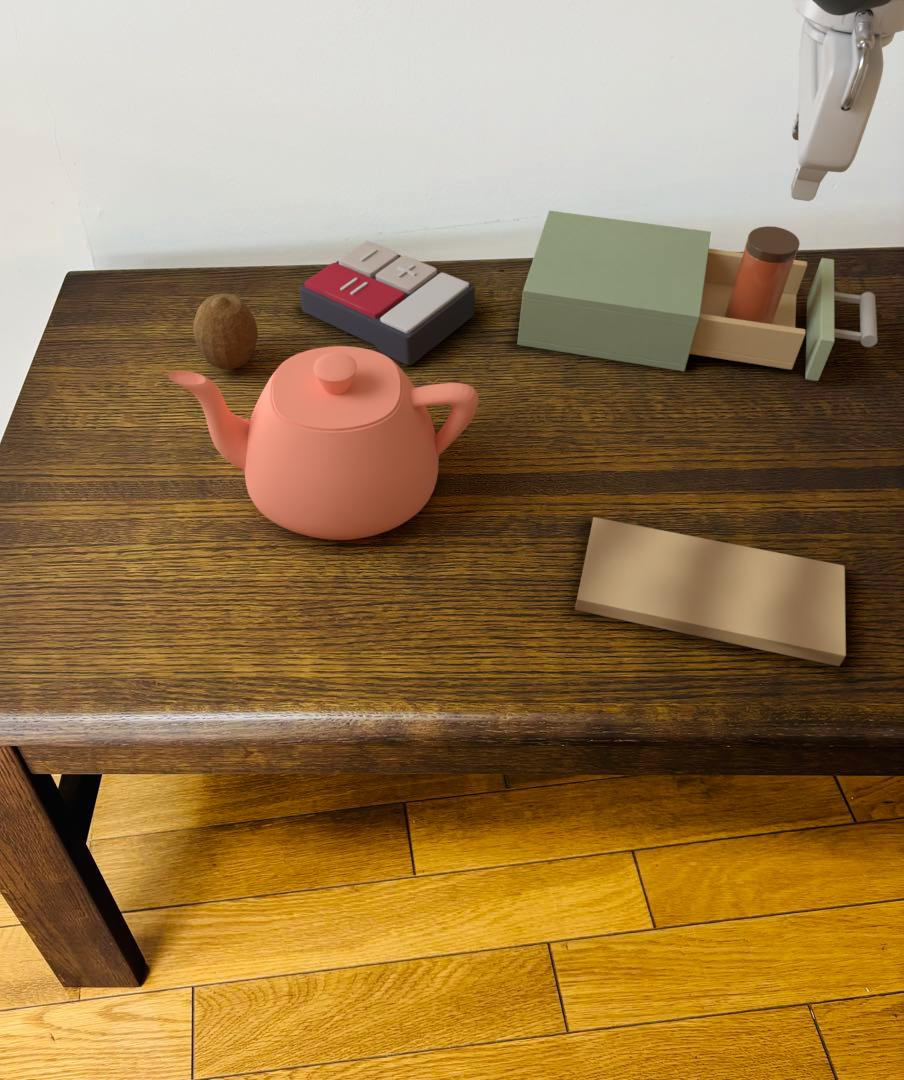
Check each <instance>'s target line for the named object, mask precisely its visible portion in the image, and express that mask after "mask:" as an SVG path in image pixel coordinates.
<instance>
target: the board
mask: <svg viewBox="0 0 904 1080" xmlns="http://www.w3.org/2000/svg"><path fill="white" fill-rule="evenodd" d="M574 606H575V607H574V610H575V611H578V612H583V613H587V614H590V615H591V614H592V615H596V616H601V617H606V618H611V619H614V620H615V619H616V620H619V621H625V622H629V623H634V624H639V625H643V626H647V627H653V628H658V629H663V630H667V631H670V632H671V631H672V632H677V633H681V634H685V635H690V636H694V637H700V638H705V639H708V640H713V641H719V642H723V643H728V644H733V645H738V646H741V647H745V648H746V647H747V648H750V649H756V650H761V651H765V652H770V653H775V654H779V655H784V656H788V657H793V658H797V659H802V660H807V661H811V662H817V663H822V664H825V665H830V666H836V667H841V665H842V663H843V661H844V660H845V658H846V657H847V648H846V647H847V637H846V635H847V634H846V633H847V631H846V628H847V627H846V567H845V565H844V564H839V563H833V562H829V561H828V562H827V561H822V560H817V559H813V558H809V557H808V558H807V557H803V556H802V557H801V556H797V555H792V554H786V553H781V552H777V551H771V550H766V549H762V548H761V549H760V548H756V547H751V546H746V545H740V544H735V543H729V542H724V541H719V540H714V539H709V538H704V537H699V536H693V535H689V534H688V535H687V534H683V533H678V532H673V531H669V530H668V531H667V530H662V529H659V528H653V527H647V526H642V525H636V524H631V523H626V522H621V521H616V520H611V519H607V518H606V519H605V518H601V517H595V516H594V517H593V518H592V522H591V527H590V532H589V536H588V542H587V547H586V551H585V556H584V561H583V566H582V572H581V576H580V581H579V587H578V591H577V596H576V601H575V605H574Z"/></svg>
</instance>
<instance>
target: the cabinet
mask: <svg viewBox="0 0 904 1080" xmlns="http://www.w3.org/2000/svg"><path fill="white" fill-rule="evenodd" d="M711 233H712V231H708V230H702V229H701V230H700V229H695V228H694V229H692V228H684V227H677V226H670V225H669V226H668V225H662V224H656V223H655V224H654V223H646V222H639V221H631V220H623V219H618V218H617V219H616V218H609V217H601V216H593V215H587V214H586V215H585V214H580V213H570V212H564V211H563V212H562V211H557V210H556V211H555V210H548V212H547V216H546V220H545V222H544V224H543V229H542V231H541V235H540V237H539V240H538V243H537V246H536V250H535V253H534V256H533V258H532V262H531V264H530V265H531V266H530V268H529V271H528V274H527V277H526V280H525V283H524V285H523V286H524V287H523V288H522V289H523V290H522V297H521V304H520V305H521V306H520V314H519V315H520V316H519V325H518V333H517V334H518V335H517V343H516V345H517V346H523V347H529V348H534V349H540V350H541V349H542V350H548V351H553V352H559V353H560V352H561V353H565V354H573V355H578V356H579V355H580V356H586V357H589V358H591V357H592V358H596V359H603V360H610V361H615V362H623V363H628V364H634V365H641V366H648V367H653V368H661V369H666V370H671V371H679V372H685V371H686V368H687V365H688V361H689V357H690V354H689V353H690V350H691V346H692V342H693V339H694V335H695V331H696V328H697V324H698V321H699V317H700V310H701V302H702V295H703V287H704V280H705V272H706V265H707V257H708V250H709V249H710V242H711Z"/></svg>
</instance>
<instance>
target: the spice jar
mask: <svg viewBox="0 0 904 1080" xmlns="http://www.w3.org/2000/svg"><path fill="white" fill-rule="evenodd" d="M799 248H800V240H799V238H798V236H797V235H796V234H795V233H794V232H791V231H790V230H788V229H785V228H782V227H778V226H769V225H768V226H759V227H756V228H754V229H753V230H751V231H750V232H749V234H748V235H747V239H746V243H745V245H744V249H743V252H742V253H743V255H742V259H741V262H740V266H739V269H738V272H737V276H736V279H735V282H734V286H733V289H732V292H731V296H730V299H729V302H728V306H727V309H726V312H725V317H726V318H733V319H739V320H746V321H753V322H760V323H766V324H772V323H773V320H774V318H775V315H776V312H777V309H778V306H779V303H780V300H781V297H782V294H783V291H784V289H785V286H786V283H787V280H788V277H789V274H790V271H791V268H792V265H793V262H794V260H796V257H797V254H798V251H799Z"/></svg>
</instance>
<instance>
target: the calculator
mask: <svg viewBox="0 0 904 1080" xmlns="http://www.w3.org/2000/svg"><path fill="white" fill-rule="evenodd" d="M475 293H476V286H475V285H474V284H472V283H470V282H468V281H465V280H463V279H460V278H458V277H455V276H453V275H450V274H448V273H446V272H443V271H440V270H438V269H437V268H436V267H435V266H432V265H429V264H427V263H424V262H423V261H419V260H417V259H414V258H412V257H409V256H408V255H401V254H399V252H397V251H395V250H392V249H390V248H387V247H384V246H382V245H381V244H378V243H375V242H372V241H370V240H364V241H363V242H361V243H360V244H358V245H357V246H355V247H354V248H353V249H351V250H350V251H349V250H348V251H347V253H345V254H344V255H342V256H341V257H339V258H338V259H337V261H335V262H332V263H330V264H329V265H327V266H326V267H324V268H323V269H322V270H319V271H318V272H317V273H315V274H314V275H313V276H311V277H310V278H308V279H307V280H306V281H304V283H303V284H301V285H300V286H299V296H300V297H299V298H300V303H301V310H302V312H303V313H305V314H307V315H309V316H310V317H313V318H315V319H318V320H319V321H322V322H324V323H326V324H328V325H331V326H333V327H335V328H337V329H339V330H341V331H343V332H346V334H347V333H348V334H349V335H352V336H353V337H355V338H358V339H360V340H363V341H364V342H366V343H368V344H371V345H373V346H374V347H376V349H377V350H378V351H379V353H381V354H383V355H385V356H387V357H389V358H390V359H392V360H395V361H397V362H398V363H399V362H400V363H401V364H403V365H405V366H412V365H414V364H415V363H417V362H418V361H419V360H420V359H421V358H423V357H424V356H425V355H427V354H428V353H429V352H430V351H432V350H433V349H434V348H435V347H436V346H438V345H439V344H440V343H442V342H443V341H444V340H445V339H447V338H448V337H449V336H451V334H453V333H454V332H455V331H456V330H458V329H459V328H460V327H462V326H463V325H465V323H466V322H468V321H470V320H471V319H472V318H473V317H474V316H475V311H476V310H475V309H476V308H475V306H476V303H475V302H476V301H475V300H476V296H475V295H476V294H475Z"/></svg>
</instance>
